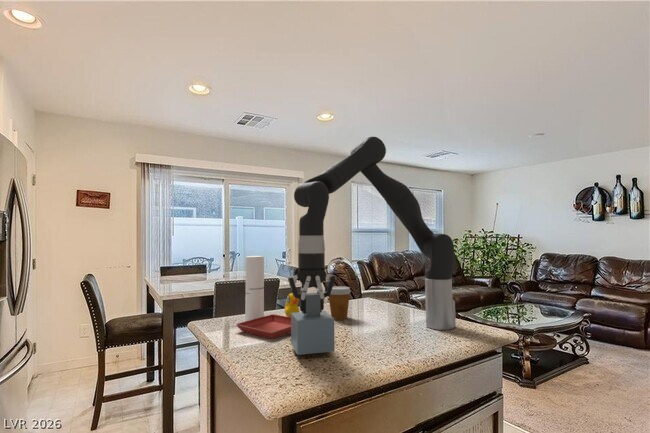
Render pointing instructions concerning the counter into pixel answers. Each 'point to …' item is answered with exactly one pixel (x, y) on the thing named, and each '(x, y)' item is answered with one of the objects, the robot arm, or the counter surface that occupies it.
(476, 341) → the counter surface
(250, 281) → the cylindrical container
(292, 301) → the duckling
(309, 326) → the grey block
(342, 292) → the disposable coffee cup
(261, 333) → the plant saucer
